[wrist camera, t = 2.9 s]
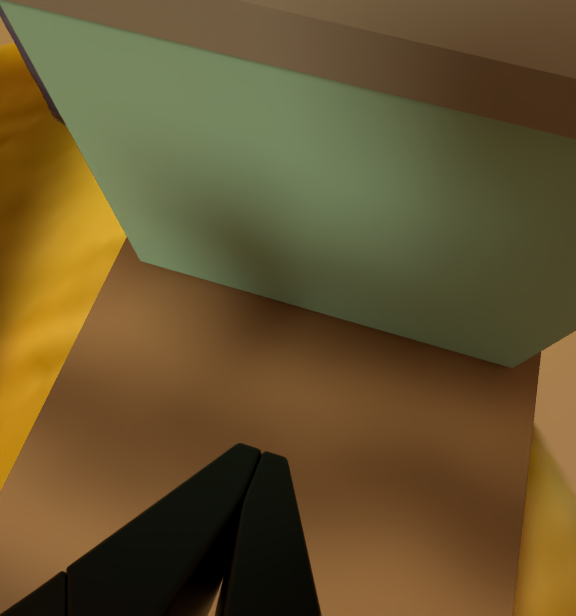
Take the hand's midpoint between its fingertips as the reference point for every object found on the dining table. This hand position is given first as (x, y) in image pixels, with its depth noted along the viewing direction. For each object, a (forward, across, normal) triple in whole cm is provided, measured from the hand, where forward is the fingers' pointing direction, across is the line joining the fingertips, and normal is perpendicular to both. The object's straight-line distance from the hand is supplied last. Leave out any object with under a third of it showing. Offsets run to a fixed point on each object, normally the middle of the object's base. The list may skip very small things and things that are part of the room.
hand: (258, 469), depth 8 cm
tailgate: (+11, 0, +1) cm, 11 cm away
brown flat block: (+9, 0, +8) cm, 12 cm away
